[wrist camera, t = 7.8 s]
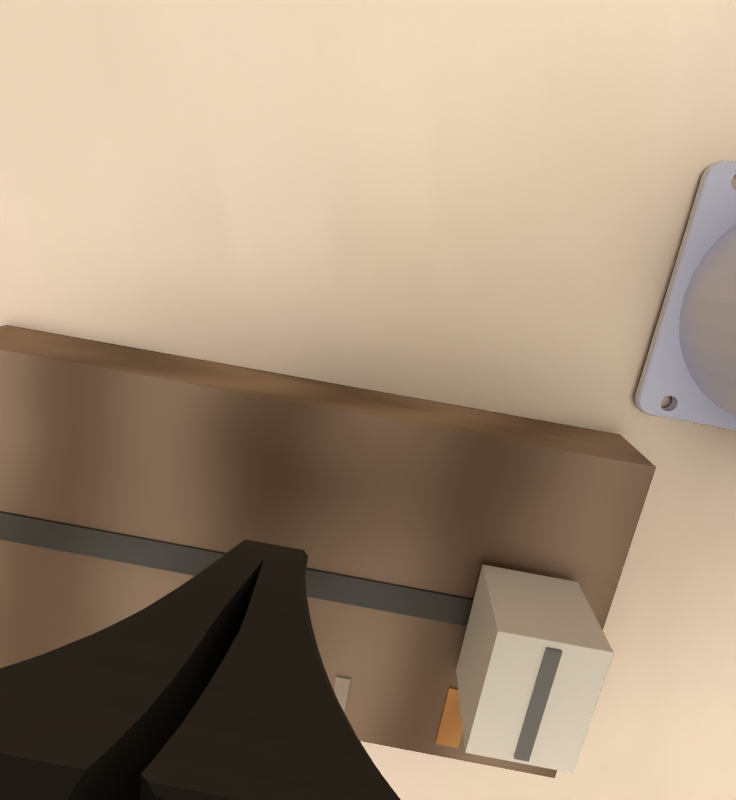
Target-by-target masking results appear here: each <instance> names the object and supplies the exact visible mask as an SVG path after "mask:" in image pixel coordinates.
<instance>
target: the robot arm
mask: <svg viewBox="0 0 736 800" xmlns="http://www.w3.org/2000/svg"><path fill="white" fill-rule="evenodd" d="M735 174H736V162H733V161H720V162H717V163H714V164H712V165H710V166H709V167H708V168H707V169H706V170H705V171H704V173H703V175H702V178H701V181H700V184H699V188H698V191H697V194H696V197H695V201H694V204H693V207H692V211H691V214H690V217H689V220H688V224H687V227H686V230H685V234H684V237H683V240H682V243H681V247H680V250H679V253H678V257H677V260H676V263H675V266H674V270H673V273H672V276H671V280H670V283H669V286H668V289H667V293H666V296H665V299H664V303H663V306H662V309H661V312H660V316H659V319H658V322H657V326H656V329H655V332H654V335H653V339H652V342H651V345H650V349H649V352H648V355H647V359H646V362H645V365H644V368H643V372H642V375H641V378H640V382H639V385H638V388H637V391H636V395H635V404H636V406H637V407H638V408H639V409H640V410H641V411H642V412H643V413H646V414H648V415H653V416H659V417H664V418H670V419H676V420H681V421H687V422H693V423H698V424H704V425H709V426H715V427H721V428H726V429H732V430H736V189H734V188H733V186H732V179H733V177H734V175H735ZM667 396H671V397H672V403H671V404H670V406H668V407H666V408H662V407H661V402H662V400H663V399H664V398H665V397H667ZM307 562H308V555H307V554H306V552H305V551H304V550H301V549H296V548H290V547H285V546H279V545H274V544H268V543H263V542H258V541H252V540H247V539H245V540H244V541H242V542H241V543H239V544H238V545H236V546H235V547H234V548H232V549H231V550H230V551H228V552H227V553H226V554H224V555H223V556H222V557H220V558H219V559H218V560H216V561H215V562H214V563H212V564H211V565H210V566H208V567H207V568H205V569H204V570H203V571H201V572H200V573H198V574H197V575H195V576H194V577H193V578H191V579H190V580H188V581H187V582H185V583H184V584H183V585H181V586H180V587H178V588H177V589H175V590H173V591H172V592H170V593H169V594H167V595H165V596H164V597H162V598H160V599H159V600H157V601H156V602H154V603H152V604H151V605H149V606H147V607H146V608H144V609H142V610H140V611H139V612H137V613H135V614H133V615H131V616H129V617H127V618H125V619H123V620H121V621H119V622H117V623H115V624H113V625H111V626H109V627H107V628H105V629H103V630H101V631H98V632H96V633H94V634H92V635H89V636H87V637H84V638H82V639H79V640H77V641H74V642H72V643H69V644H67V645H64V646H62V647H59V648H57V649H54V650H52V651H49V652H47V653H44V654H42V655H39V656H36V657H33V658H30V659H27V660H24V661H21V662H18V663H15V664H12V665H9V666H6V667H3V668H0V800H400V798H399V797H398V796H397V794H396V793H395V792H394V791H393V789H392V788H391V787H390V785H389V784H388V783H387V781H386V780H385V779H384V777H383V776H382V775H381V773H380V772H379V770H378V769H377V767H376V766H375V765H374V763H373V762H372V760H371V758H370V757H369V755H368V754H367V752H366V750H365V749H364V747H363V746H362V744H361V742H360V741H359V739H358V737H357V736H356V734H355V732H354V730H353V728H352V726H351V724H350V722H349V720H348V718H347V717H346V715H345V713H344V711H343V709H342V707H341V705H340V703H339V701H338V699H337V697H336V695H335V692H334V690H333V688H332V685H331V683H330V681H329V678H328V675H327V673H326V670H325V667H324V665H323V662H322V659H321V656H320V653H319V650H318V646H317V643H316V639H315V635H314V631H313V628H312V623H311V618H310V613H309V607H308V601H307V594H306V582H305V575H306V568H307Z"/></svg>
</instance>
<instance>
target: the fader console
mask: <svg viewBox="0 0 736 800" xmlns="http://www.w3.org/2000/svg"><path fill="white" fill-rule="evenodd" d="M655 468H656V467H655V466H654V465H653V464H652V463H651V462H650V461H649V460H647V459H646V458H645V457H644V456H643V455H642V454H641V453H640V452H639V451H637V450H636V449H635V448H634V447H633V446H632V445H631V444H630V443H629V442H627V441H626V440H625V439H624V438H623V437H622V436H621V435H618V434H613V433H607V432H601V431H596V430H590V429H585V428H579V427H573V426H568V425H562V424H557V423H551V422H545V421H540V420H534V419H529V418H523V417H517V416H512V415H506V414H501V413H495V412H489V411H484V410H478V409H473V408H467V407H461V406H456V405H450V404H444V403H439V402H433V401H428V400H422V399H416V398H411V397H405V396H400V395H394V394H388V393H383V392H377V391H372V390H366V389H360V388H355V387H349V386H344V385H338V384H332V383H327V382H321V381H315V380H310V379H304V378H299V377H293V376H287V375H282V374H276V373H271V372H265V371H259V370H254V369H248V368H243V367H237V366H231V365H226V364H220V363H215V362H209V361H203V360H198V359H192V358H187V357H181V356H175V355H170V354H164V353H158V352H153V351H147V350H142V349H136V348H130V347H125V346H119V345H114V344H108V343H102V342H97V341H91V340H86V339H80V338H74V337H69V336H63V335H58V334H52V333H46V332H41V331H35V330H30V329H24V328H18V327H13V326H7V325H5V326H0V668H3V667H6V666H9V665H12V664H15V663H18V662H21V661H24V660H27V659H30V658H33V657H36V656H39V655H42V654H44V653H47V652H49V651H52V650H54V649H57V648H59V647H62V646H64V645H67V644H69V643H72V642H74V641H77V640H79V639H82V638H84V637H87V636H89V635H92V634H94V633H96V632H98V631H101V630H103V629H105V628H107V627H109V626H111V625H113V624H115V623H117V622H119V621H121V620H123V619H125V618H127V617H129V616H131V615H133V614H135V613H137V612H139V611H140V610H142V609H144V608H146V607H147V606H149V605H151V604H152V603H154V602H156V601H157V600H159V599H160V598H162V597H164V596H165V595H167V594H169V593H170V592H172V591H173V590H175V589H177V588H178V587H180V586H181V585H183V584H184V583H185V582H187V581H188V580H190V579H191V578H193V577H194V576H195V575H197V574H198V573H200V572H201V571H203V570H204V569H205V568H207V567H208V566H210V565H211V564H212V563H214V562H215V561H216V560H218V559H219V558H220V557H222V556H223V555H224V554H226V553H227V552H228V551H230V550H231V549H232V548H234V547H235V546H236V545H238V544H239V543H241V542H242V541H244V540H245V539H247V540H252V541H258V542H263V543H268V544H274V545H279V546H285V547H290V548H296V549H301V550H304V551H305V552H306V554H307V555H308V562H307V568H306V575H305V582H306V594H307V601H308V607H309V613H310V618H311V623H312V628H313V631H314V635H315V639H316V643H317V646H318V650H319V653H320V656H321V659H322V662H323V665H324V667H325V670H326V673H327V675H328V678H329V681H330V683H331V685H332V688H333V690H334V692H335V695H336V697H337V699H338V701H339V703H340V705H341V707H342V709H343V711H344V713H345V715H346V717H347V718H348V720H349V722H350V724H351V726H352V728H353V730H354V732H355V734H356V736H357V737H358V739H359V741H364V742H369V743H374V744H379V745H385V746H390V747H395V748H400V749H406V750H411V751H416V752H421V753H426V754H432V755H437V756H442V757H447V758H453V759H458V760H463V761H468V762H474V763H479V764H484V765H489V766H495V767H500V768H505V769H510V770H516V771H521V772H526V773H531V774H537V775H542V776H547V777H552V778H555V775H556V772H557V770H553V769H548V768H543V767H538V766H532V765H527V764H522V763H517V762H512V761H506V760H501V759H496V758H491V757H485V756H480V755H475V754H470V753H465V744H464V735H463V727H462V718H461V709H460V700H459V691H458V683H457V674H456V668H457V664H458V660H459V656H460V652H461V648H462V644H463V640H464V636H465V632H466V628H467V624H468V620H469V616H470V612H471V608H472V604H473V600H474V596H475V592H476V588H477V584H478V580H479V576H480V572H481V568H482V564H483V565H488V566H493V567H499V568H504V569H510V570H515V571H521V572H526V573H531V574H537V575H542V576H548V577H553V578H559V579H564V580H570V581H575V582H578V583H579V585H580V587H581V589H582V591H583V593H584V595H585V597H586V599H587V601H588V603H589V605H590V607H591V609H592V611H593V613H594V615H595V617H596V619H597V621H598V623H599V625H600V627H601V629H602V631H603V628H604V625H605V622H606V618H607V615H608V612H609V609H610V606H611V603H612V600H613V597H614V594H615V591H616V588H617V585H618V582H619V579H620V576H621V572H622V569H623V566H624V563H625V560H626V557H627V554H628V551H629V548H630V545H631V542H632V539H633V536H634V533H635V529H636V526H637V523H638V520H639V517H640V514H641V511H642V508H643V505H644V502H645V499H646V496H647V493H648V490H649V486H650V483H651V480H652V477H653V474H654V471H655Z"/></svg>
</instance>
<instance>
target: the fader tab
mask: <svg viewBox="0 0 736 800" xmlns="http://www.w3.org/2000/svg"><path fill="white" fill-rule="evenodd" d="M612 656H613V651H612V649H611V647H610V645H609V643H608V641H607V639H606V637H605V635H604V633H603V631H602V629H601V627H600V625H599V623H598V621H597V619H596V617H595V615H594V613H593V611H592V609H591V607H590V605H589V603H588V601H587V599H586V597H585V595H584V593H583V591H582V589H581V587H580V585H579V583H578V582H575V581H570V580H564V579H559V578H553V577H548V576H542V575H537V574H531V573H526V572H521V571H515V570H510V569H504V568H499V567H493V566H488V565H483V564H482V568H481V572H480V576H479V580H478V584H477V588H476V592H475V596H474V600H473V604H472V608H471V612H470V616H469V620H468V624H467V628H466V632H465V636H464V640H463V644H462V648H461V652H460V656H459V660H458V664H457V668H456V674H457V683H458V691H459V700H460V709H461V718H462V727H463V735H464V744H465V753H470V754H475V755H480V756H485V757H491V758H496V759H501V760H506V761H512V762H517V763H522V764H527V765H532V766H538V767H543V768H548V769H553V770H559V771H564V772H569V773H573V772H574V769H575V766H576V763H577V760H578V757H579V754H580V751H581V748H582V745H583V742H584V739H585V736H586V733H587V730H588V727H589V724H590V721H591V718H592V715H593V712H594V709H595V706H596V703H597V700H598V697H599V694H600V691H601V688H602V685H603V682H604V679H605V676H606V673H607V671H608V668H609V665H610V662H611V659H612Z"/></svg>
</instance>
